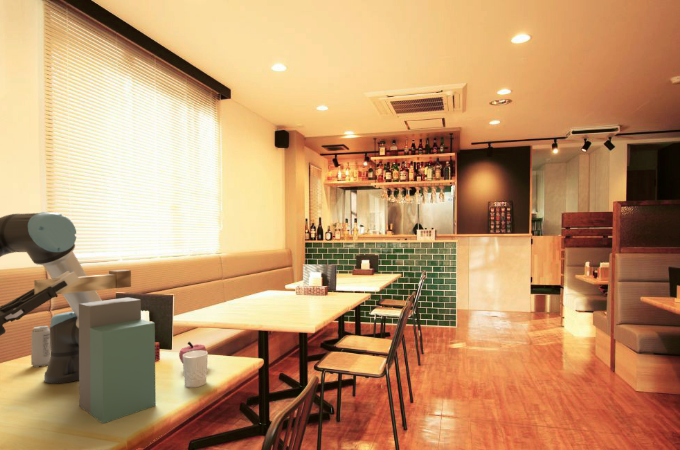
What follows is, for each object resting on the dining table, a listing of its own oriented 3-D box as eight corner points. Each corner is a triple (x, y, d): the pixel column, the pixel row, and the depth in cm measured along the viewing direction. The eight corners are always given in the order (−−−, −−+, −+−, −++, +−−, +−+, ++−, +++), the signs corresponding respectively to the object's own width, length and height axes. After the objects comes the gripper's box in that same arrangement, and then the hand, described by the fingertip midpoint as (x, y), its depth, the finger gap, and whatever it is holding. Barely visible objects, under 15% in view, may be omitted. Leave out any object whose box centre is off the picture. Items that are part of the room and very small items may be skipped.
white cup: (200, 389, 129) (199, 357, 129) (178, 387, 130) (177, 356, 131) (212, 380, 136) (212, 350, 137) (191, 379, 138) (191, 350, 138)
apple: (177, 374, 143) (177, 346, 144) (181, 366, 152) (180, 340, 152) (205, 371, 146) (205, 343, 146) (207, 364, 154) (207, 338, 154)
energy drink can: (37, 363, 160) (37, 325, 161) (53, 362, 161) (53, 325, 161) (27, 368, 154) (27, 329, 155) (44, 367, 155) (44, 328, 155)
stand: (103, 423, 106) (102, 309, 107) (79, 406, 118) (78, 303, 118) (155, 405, 117) (154, 302, 118) (129, 391, 128) (128, 297, 129)
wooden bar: (39, 296, 105) (39, 277, 105) (33, 294, 109) (33, 276, 109) (131, 286, 123) (130, 270, 123) (122, 285, 126) (122, 269, 127)
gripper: (-19, 337, 105) (71, 284, 120) (-4, 347, 94) (92, 287, 110) (-38, 314, 102) (56, 263, 118) (-26, 322, 91) (76, 264, 107)
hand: (73, 275), depth 114 cm, fingers closed on wooden bar, 4 cm apart
